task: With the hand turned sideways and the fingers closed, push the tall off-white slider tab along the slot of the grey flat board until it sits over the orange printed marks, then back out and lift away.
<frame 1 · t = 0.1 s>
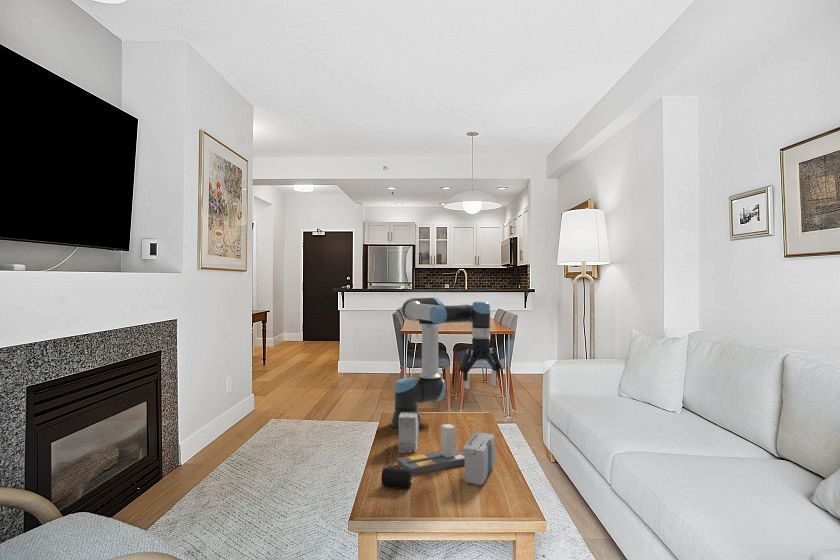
hand: (480, 386, 208), 28 cm above the table, tool pointing down, fingers open, 13 cm apart
slider tab: (448, 440, 196), point 9 cm above the table, slide at 0.0 cm
circuit breaker: (409, 447, 214), on the table
grey flat board: (432, 464, 193), on the table
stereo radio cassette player: (479, 475, 183), on the table
end cap: (397, 487, 172), on the table
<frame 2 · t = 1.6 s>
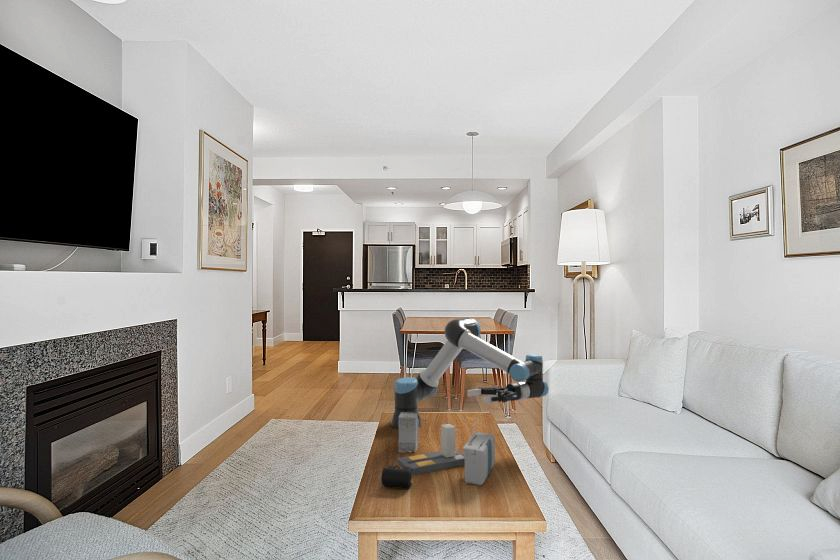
hand: (475, 396, 206), 24 cm above the table, tool horizontal, fingers open, 12 cm apart
nothing on the table moved.
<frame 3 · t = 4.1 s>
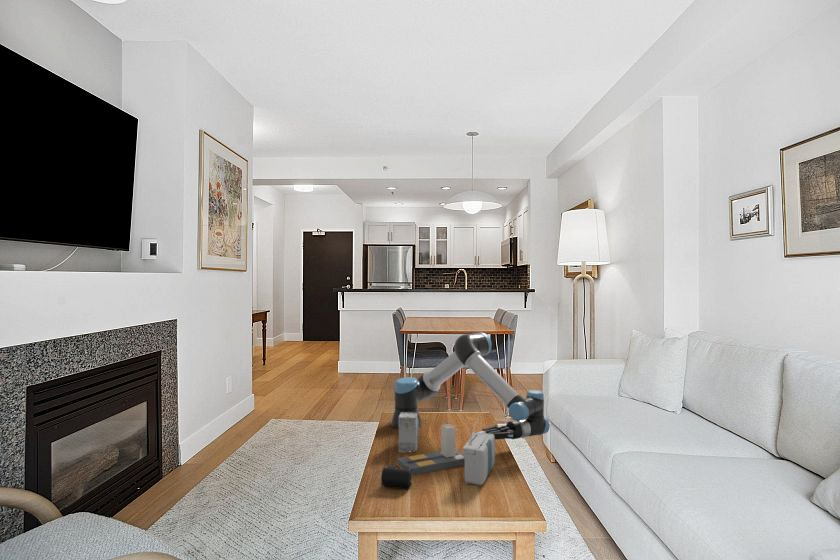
hand: (471, 436, 201), 8 cm above the table, tool horizontal, fingers closed
nothing on the table moved.
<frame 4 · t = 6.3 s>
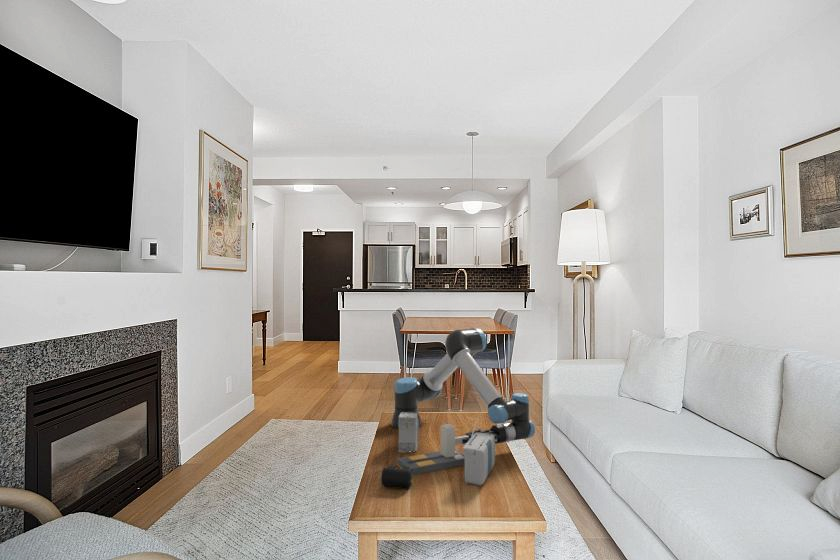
hand: (454, 441, 196), 8 cm above the table, tool horizontal, fingers closed
slider tab: (447, 440, 196), point 9 cm above the table, slide at 0.1 cm, touching gripper
everything else where it was.
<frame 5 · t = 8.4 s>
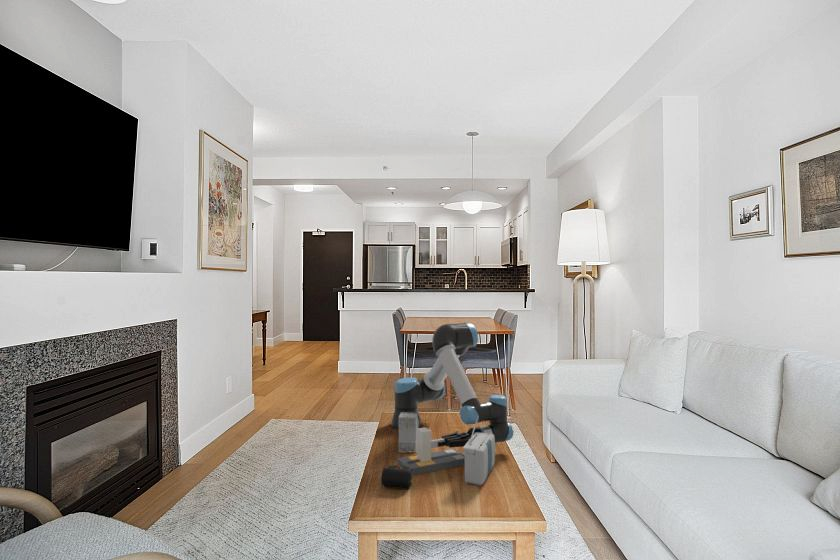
hand: (429, 444, 192), 8 cm above the table, tool horizontal, fingers closed
slider tab: (423, 444, 192), point 9 cm above the table, slide at 11.1 cm, touching gripper
everything else where it was.
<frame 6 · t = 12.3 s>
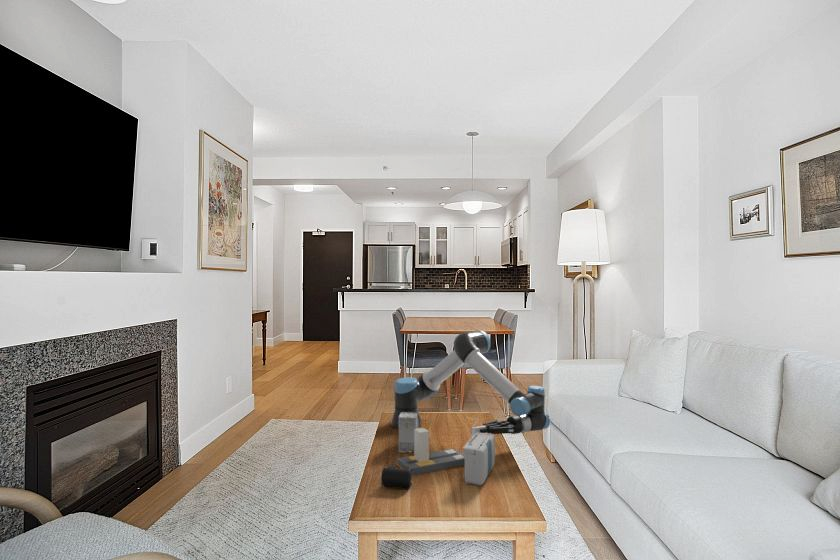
hand: (472, 431, 202), 11 cm above the table, tool horizontal, fingers closed
slider tab: (421, 444, 191), point 9 cm above the table, slide at 12.0 cm
everything else where it was.
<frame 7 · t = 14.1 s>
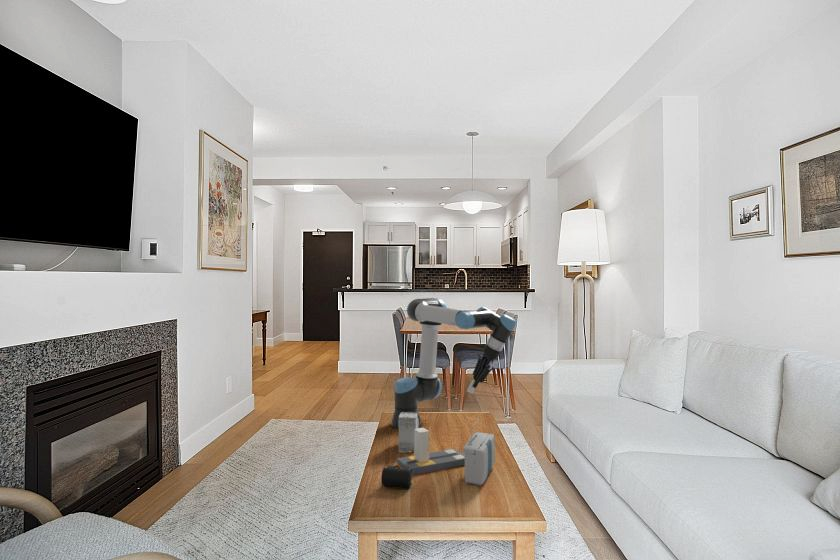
hand: (469, 392, 220), 23 cm above the table, tool tilted 30°, fingers closed
nothing on the table moved.
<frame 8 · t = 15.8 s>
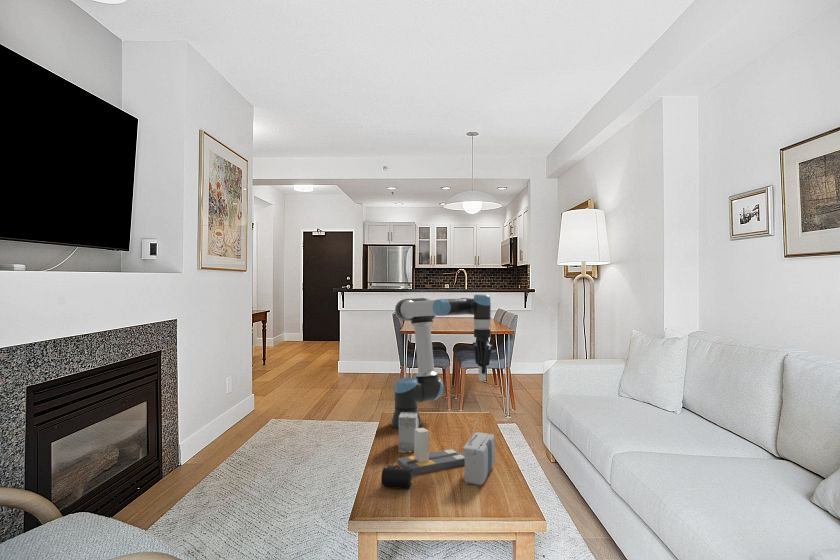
hand: (482, 380, 219), 28 cm above the table, tool pointing down, fingers closed
nothing on the table moved.
at the end: slider tab slide at 12.0 cm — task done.
